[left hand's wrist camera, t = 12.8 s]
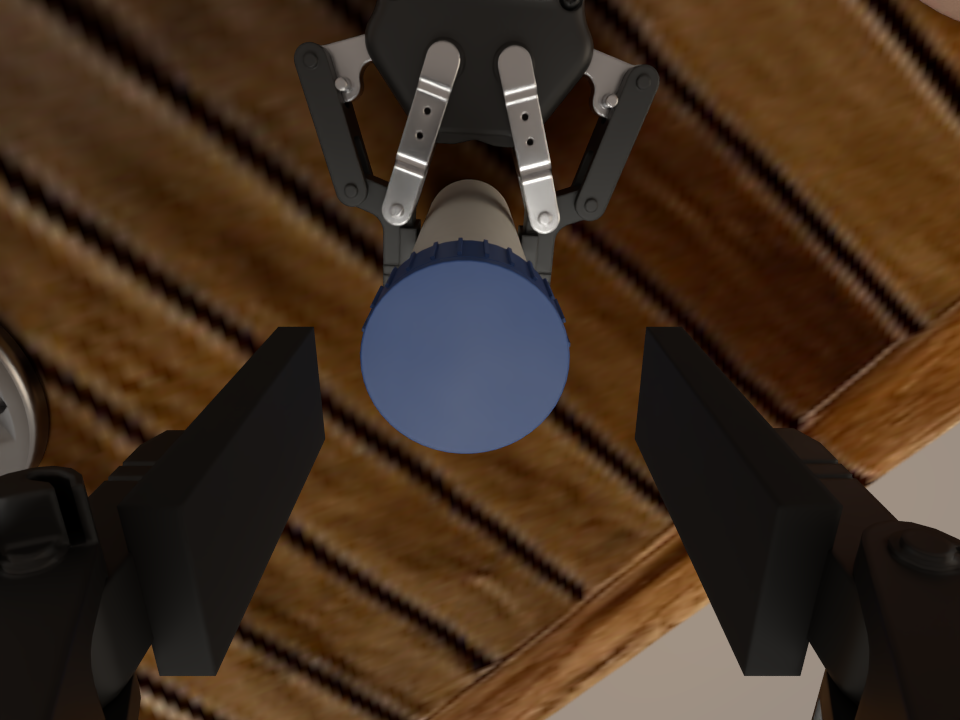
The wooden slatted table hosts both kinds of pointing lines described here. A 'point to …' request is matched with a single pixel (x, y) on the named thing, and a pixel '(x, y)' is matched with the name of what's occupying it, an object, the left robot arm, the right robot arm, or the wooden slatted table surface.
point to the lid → (465, 347)
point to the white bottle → (469, 217)
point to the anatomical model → (945, 7)
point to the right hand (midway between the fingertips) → (466, 309)
